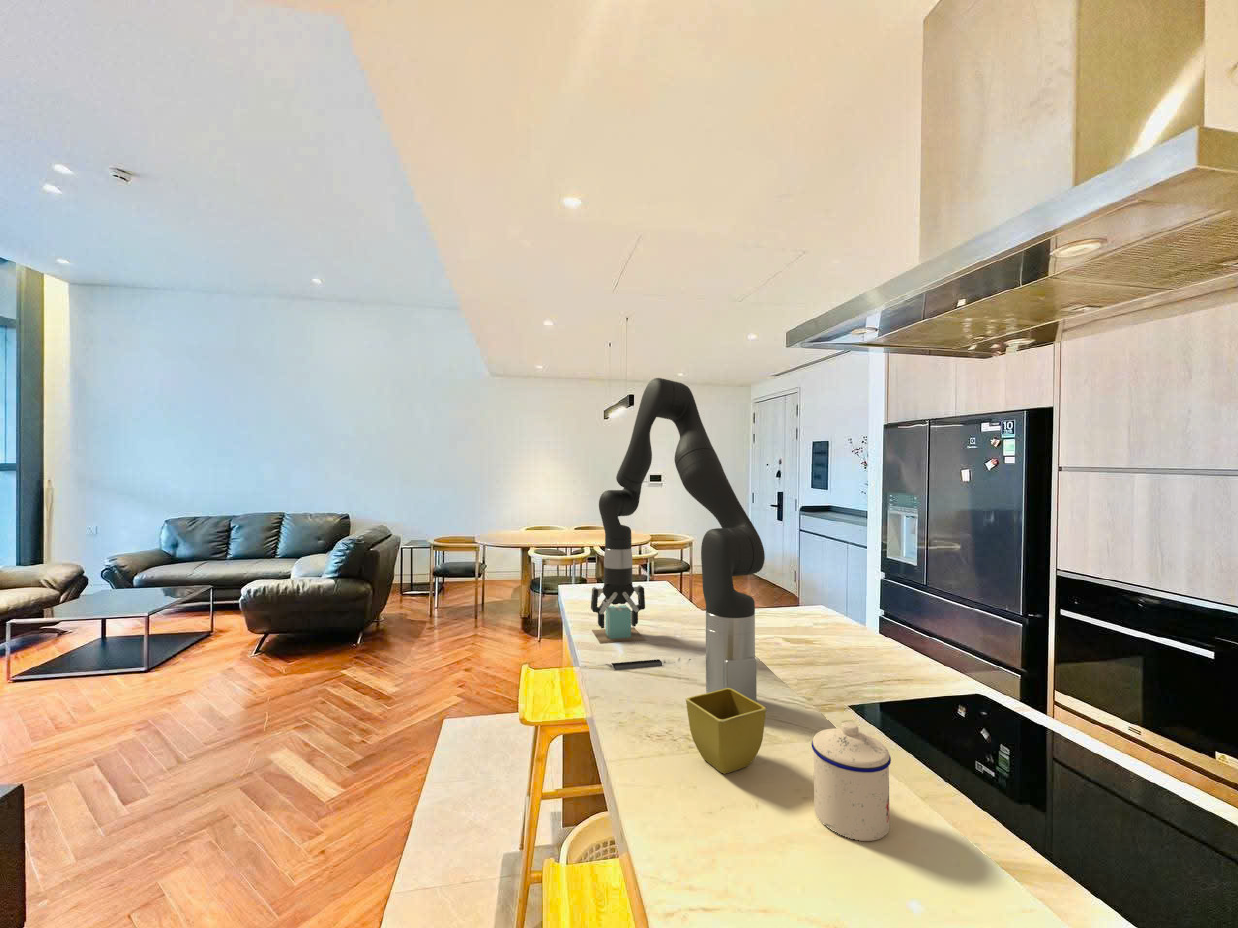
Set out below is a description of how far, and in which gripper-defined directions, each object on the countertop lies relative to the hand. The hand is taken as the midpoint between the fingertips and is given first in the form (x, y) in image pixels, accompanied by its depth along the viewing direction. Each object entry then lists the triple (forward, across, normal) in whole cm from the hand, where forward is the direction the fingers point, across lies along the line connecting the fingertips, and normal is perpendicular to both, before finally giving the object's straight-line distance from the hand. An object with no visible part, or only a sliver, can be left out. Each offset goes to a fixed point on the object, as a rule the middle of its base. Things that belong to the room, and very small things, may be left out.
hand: (618, 626), depth 136 cm
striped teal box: (+2, 0, 0) cm, 2 cm away
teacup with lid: (+4, +12, -75) cm, 76 cm away
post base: (+4, 0, 0) cm, 4 cm away
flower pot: (+4, +2, -61) cm, 61 cm away
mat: (+4, 0, -15) cm, 15 cm away
